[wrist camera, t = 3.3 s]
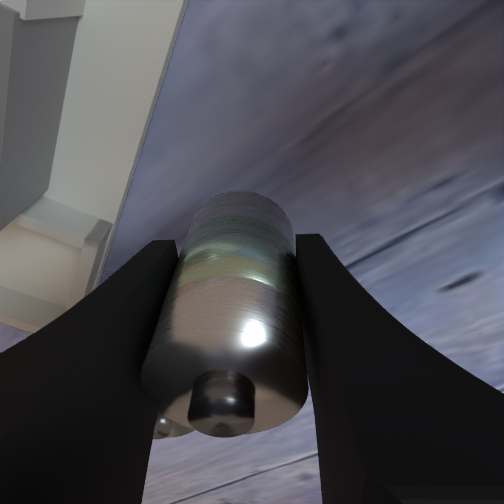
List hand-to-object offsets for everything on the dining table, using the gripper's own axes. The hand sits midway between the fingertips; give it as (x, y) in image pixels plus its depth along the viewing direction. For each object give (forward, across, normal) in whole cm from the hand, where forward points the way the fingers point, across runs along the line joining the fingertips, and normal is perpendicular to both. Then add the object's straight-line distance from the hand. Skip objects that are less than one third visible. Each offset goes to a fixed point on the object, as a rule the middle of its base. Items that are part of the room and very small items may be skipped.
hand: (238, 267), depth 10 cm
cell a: (+2, 0, 0) cm, 2 cm away
